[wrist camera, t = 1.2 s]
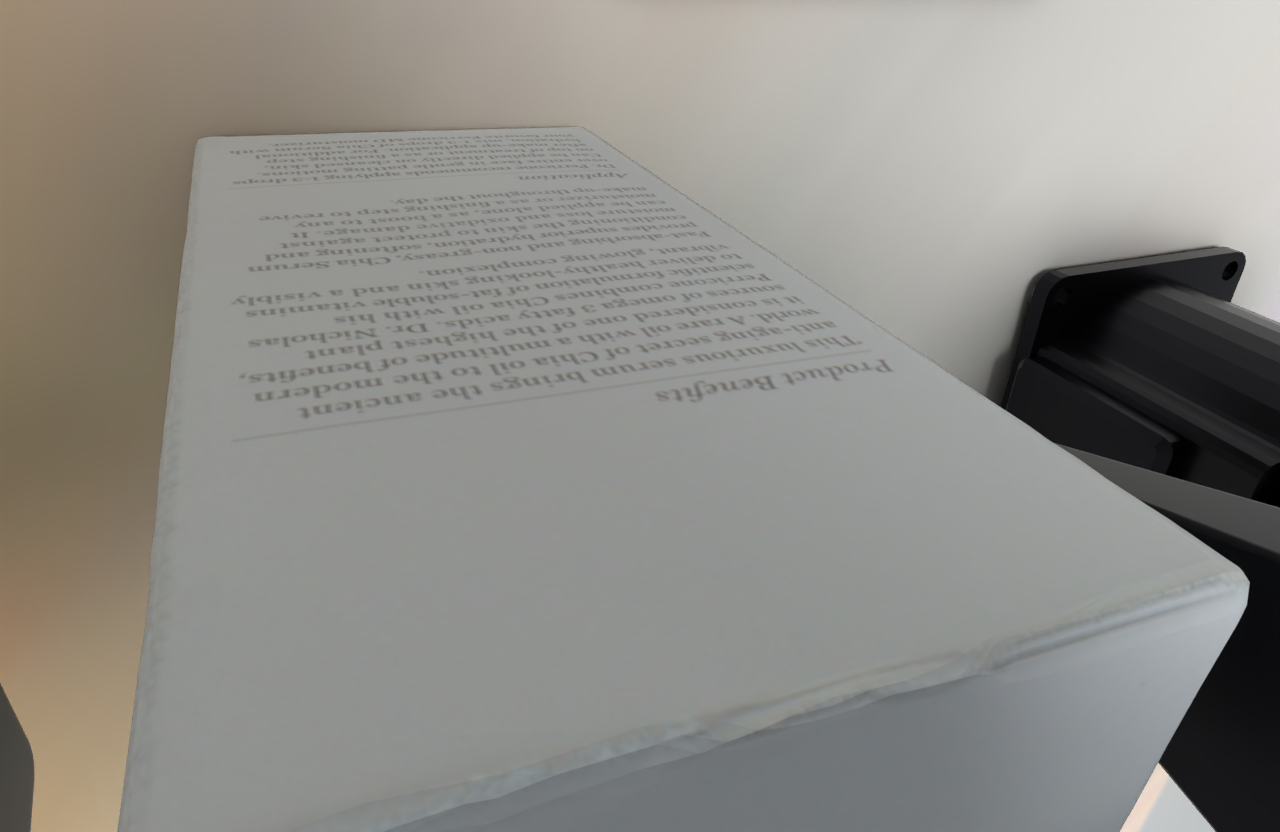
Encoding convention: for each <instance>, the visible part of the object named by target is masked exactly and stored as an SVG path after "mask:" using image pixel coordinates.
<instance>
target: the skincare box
mask: <svg viewBox="0 0 1280 832" xmlns="http://www.w3.org/2000/svg"><path fill="white" fill-rule="evenodd" d="M1249 584H1250V582H1249V580H1248V579H1247V577H1246V576H1245V574H1244V572H1243V571H1242V570H1241V569H1240V568H1239V567H1238V566H1236V565H1235V564H1234V563H1232V562H1231V561H1229V560H1228V559H1226V558H1225V557H1223V556H1222V555H1220V554H1219V553H1218V552H1216V551H1215V550H1213V549H1212V548H1210V547H1209V546H1207V545H1206V544H1204V543H1203V542H1202V541H1200V540H1199V539H1197V538H1196V537H1194V536H1193V535H1191V534H1190V533H1188V532H1187V531H1186V530H1184V529H1183V528H1181V527H1180V526H1178V525H1177V524H1175V523H1174V522H1173V521H1171V520H1170V519H1168V518H1166V517H1165V516H1163V515H1162V514H1160V513H1159V512H1157V511H1156V510H1154V509H1153V508H1151V507H1149V506H1148V505H1146V504H1145V503H1143V502H1142V501H1140V500H1139V499H1137V498H1136V497H1134V496H1132V495H1131V494H1129V493H1128V492H1126V491H1125V490H1123V489H1122V488H1120V487H1119V486H1117V485H1115V484H1114V483H1112V482H1111V481H1109V480H1108V479H1106V478H1105V477H1104V476H1102V475H1101V474H1099V473H1098V472H1097V471H1095V470H1094V469H1092V468H1091V467H1089V466H1088V465H1087V464H1085V463H1084V462H1082V461H1081V460H1080V459H1078V458H1077V457H1075V456H1073V455H1072V454H1070V453H1069V452H1067V451H1066V450H1064V449H1062V448H1061V447H1059V446H1058V445H1056V444H1054V443H1053V442H1051V441H1050V440H1048V439H1047V438H1045V437H1044V436H1043V435H1041V434H1040V433H1038V432H1037V431H1036V430H1034V429H1033V428H1031V427H1030V426H1029V425H1027V424H1026V423H1024V422H1023V421H1021V420H1020V419H1018V418H1016V417H1015V416H1013V415H1012V414H1010V413H1009V412H1007V411H1006V410H1004V409H1003V408H1001V407H999V406H998V405H996V404H995V403H993V402H992V401H990V400H989V399H987V398H986V397H984V396H983V395H981V394H980V393H978V392H977V391H975V390H974V389H972V388H971V387H970V386H968V385H967V384H965V383H964V382H962V381H961V380H959V379H958V378H956V377H955V376H953V375H952V374H951V373H949V372H948V371H946V370H945V369H943V368H942V367H940V366H939V365H937V364H936V363H934V362H933V361H931V360H930V359H928V358H927V357H925V356H924V355H922V354H921V353H919V352H918V351H916V350H915V349H913V348H912V347H910V346H909V345H907V344H906V343H904V342H903V341H901V340H900V339H898V338H897V337H895V336H894V335H892V334H891V333H889V332H888V331H886V330H885V329H883V328H881V327H880V326H878V325H877V324H875V323H874V322H872V321H871V320H869V319H867V318H866V317H864V316H863V315H861V314H860V313H859V312H857V311H856V310H854V309H853V308H851V307H850V306H848V305H847V304H846V303H844V302H843V301H841V300H840V299H838V298H837V297H835V296H834V295H833V294H831V293H830V292H828V291H827V290H825V289H824V288H822V287H821V286H819V285H818V284H816V283H815V282H813V281H812V280H810V279H809V278H807V277H806V276H804V275H803V274H801V273H800V272H798V271H797V270H795V269H794V268H792V267H791V266H789V265H788V264H786V263H785V262H783V261H782V260H781V259H779V258H778V257H777V256H775V255H774V254H772V253H771V252H769V251H768V250H766V249H765V248H763V247H761V246H760V245H758V244H757V243H755V242H754V241H752V240H751V239H749V238H748V237H746V236H745V235H743V234H742V233H740V232H739V231H737V230H736V229H734V228H733V227H731V226H730V225H728V224H727V223H725V222H724V221H722V220H721V219H719V218H718V217H717V216H715V215H714V214H712V213H711V212H709V211H708V210H706V209H705V208H703V207H702V206H700V205H699V204H697V203H695V202H694V201H692V200H691V199H689V198H688V197H686V196H685V195H683V194H682V193H680V192H679V191H677V190H676V189H674V188H673V187H671V186H670V185H668V184H667V183H666V182H664V181H663V180H661V179H660V178H658V177H657V176H655V175H654V174H652V173H651V172H649V171H648V170H647V169H645V168H644V167H642V166H640V165H639V164H637V163H636V162H634V161H633V160H631V159H630V158H628V157H627V156H626V155H624V154H623V153H621V152H620V151H618V150H617V149H615V148H614V147H612V146H611V145H609V144H608V143H607V142H605V141H604V140H602V139H601V138H599V137H598V136H596V135H595V134H593V133H591V132H590V131H588V130H586V129H584V128H583V127H552V128H511V129H469V130H440V131H400V132H361V133H328V134H298V135H261V136H233V137H222V136H211V137H203V138H200V139H198V141H197V144H196V147H195V154H194V161H193V169H192V184H191V192H190V198H189V208H188V222H187V234H186V239H185V243H184V250H183V258H182V266H181V275H180V283H179V292H178V302H177V309H176V321H175V333H174V342H173V350H172V358H171V368H170V380H169V388H168V395H167V406H166V414H165V422H164V431H163V443H162V450H161V457H160V466H159V481H158V496H157V507H156V518H155V528H154V536H153V542H152V548H151V582H150V591H149V600H148V609H147V617H146V625H145V632H144V640H143V647H142V653H141V659H140V665H139V672H138V679H137V687H136V695H135V702H134V710H133V718H132V725H131V733H130V741H129V749H128V756H127V764H126V772H125V779H124V787H123V795H122V803H121V810H120V817H119V824H118V831H117V832H1120V830H1121V828H1122V826H1123V824H1124V823H1125V821H1126V819H1127V817H1128V816H1129V814H1130V812H1131V811H1132V809H1133V807H1134V805H1135V803H1136V802H1137V800H1138V798H1139V796H1140V794H1141V793H1142V791H1143V789H1144V787H1145V785H1146V783H1147V782H1148V780H1149V778H1150V776H1151V774H1152V773H1153V771H1154V769H1155V767H1156V765H1157V763H1158V762H1159V760H1160V758H1161V756H1162V754H1163V752H1164V751H1165V749H1166V747H1167V745H1168V744H1169V742H1170V740H1171V738H1172V736H1173V735H1174V733H1175V731H1176V729H1177V728H1178V726H1179V724H1180V722H1181V721H1182V719H1183V717H1184V715H1185V713H1186V712H1187V710H1188V708H1189V706H1190V705H1191V703H1192V701H1193V699H1194V698H1195V696H1196V694H1197V692H1198V690H1199V689H1200V687H1201V685H1202V684H1203V682H1204V680H1205V679H1206V677H1207V675H1208V673H1209V672H1210V670H1211V668H1212V667H1213V665H1214V663H1215V661H1216V660H1217V658H1218V656H1219V655H1220V653H1221V651H1222V650H1223V648H1224V646H1225V644H1226V643H1227V641H1228V639H1229V638H1230V636H1231V634H1232V633H1233V631H1234V629H1235V627H1236V626H1237V624H1238V622H1239V620H1240V618H1241V616H1242V614H1243V612H1244V610H1245V608H1246V606H1247V600H1248V592H1249Z"/></svg>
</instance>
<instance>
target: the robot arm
mask: <svg viewBox="0 0 1280 832" xmlns="http://www.w3.org/2000/svg"><path fill="white" fill-rule="evenodd" d="M1245 263H1246V259H1245V255H1244V254H1243V253H1242V252H1239V251H1237V250H1234V249H1231V248H1228V247H1217V248H1210V249H1203V250H1195V251H1188V252H1181V253H1174V254H1167V255H1159V256H1152V257H1145V258H1138V259H1131V260H1123V261H1116V262H1109V263H1102V264H1095V265H1087V266H1080V267H1073V268H1066V269H1059V270H1054V271H1051V272H1049V273H1047V274H1046V275H1045V276H1044V277H1042V278H1041V280H1040V281H1039V282H1038V284H1037V285H1036V287H1035V290H1034V292H1033V295H1032V299H1031V302H1030V306H1029V309H1028V313H1027V317H1026V320H1025V324H1024V327H1023V331H1022V335H1021V338H1020V342H1019V345H1018V349H1017V352H1016V356H1015V360H1014V363H1013V367H1012V370H1011V374H1010V377H1009V381H1008V385H1007V388H1006V392H1005V395H1004V399H1003V402H1002V406H1001V408H1003V409H1004V410H1006V411H1007V412H1009V413H1010V414H1012V415H1013V416H1015V417H1016V418H1018V419H1020V420H1021V421H1023V422H1024V423H1026V424H1027V425H1029V426H1030V427H1031V428H1033V429H1034V430H1036V431H1037V432H1038V433H1040V434H1041V435H1043V436H1044V437H1045V438H1047V439H1048V440H1050V441H1051V442H1053V443H1054V444H1056V445H1058V446H1059V447H1061V448H1062V449H1064V450H1066V451H1067V452H1069V453H1070V454H1072V455H1073V456H1075V457H1077V458H1078V459H1080V460H1081V461H1082V462H1084V463H1085V464H1087V465H1088V466H1089V467H1091V468H1092V469H1094V470H1095V471H1097V472H1098V473H1099V474H1101V475H1102V476H1104V477H1105V478H1106V479H1108V480H1109V481H1111V482H1112V483H1114V484H1115V485H1117V486H1119V487H1120V488H1122V489H1123V490H1125V491H1126V492H1128V493H1129V494H1131V495H1132V496H1134V497H1136V498H1137V499H1139V500H1140V501H1142V502H1143V503H1145V504H1146V505H1148V506H1149V507H1151V508H1153V509H1154V510H1156V511H1157V512H1159V513H1160V514H1162V515H1163V516H1165V517H1166V518H1168V519H1170V520H1171V521H1173V522H1174V523H1175V524H1177V525H1178V526H1180V527H1181V528H1183V529H1184V530H1186V531H1187V532H1188V533H1190V534H1191V535H1193V536H1194V537H1196V538H1197V539H1199V540H1200V541H1202V542H1203V543H1204V544H1206V545H1207V546H1209V547H1210V548H1212V549H1213V550H1215V551H1216V552H1218V553H1219V554H1220V555H1222V556H1223V557H1225V558H1226V559H1228V560H1229V561H1231V562H1232V563H1234V564H1235V565H1236V566H1238V567H1239V568H1240V569H1241V570H1242V571H1243V572H1244V574H1245V576H1246V577H1247V579H1248V580H1249V582H1250V584H1249V592H1248V600H1247V606H1246V608H1245V610H1244V612H1243V614H1242V616H1241V618H1240V620H1239V622H1238V624H1237V626H1236V627H1235V629H1234V631H1233V633H1232V634H1231V636H1230V638H1229V639H1228V641H1227V643H1226V644H1225V646H1224V648H1223V650H1222V651H1221V653H1220V655H1219V656H1218V658H1217V660H1216V661H1215V663H1214V665H1213V667H1212V668H1211V670H1210V672H1209V673H1208V675H1207V677H1206V679H1205V680H1204V682H1203V684H1202V685H1201V687H1200V689H1199V690H1198V692H1197V694H1196V696H1195V698H1194V699H1193V701H1192V703H1191V705H1190V706H1189V708H1188V710H1187V712H1186V713H1185V715H1184V717H1183V719H1182V721H1181V722H1180V724H1179V726H1178V728H1177V729H1176V731H1175V733H1174V735H1173V736H1172V738H1171V740H1170V742H1169V744H1168V745H1167V747H1166V749H1165V751H1164V752H1163V754H1162V756H1161V758H1160V760H1159V762H1158V763H1159V764H1160V765H1161V766H1162V767H1163V769H1164V770H1165V771H1166V772H1167V774H1168V775H1169V776H1170V777H1171V778H1172V780H1173V781H1174V782H1175V783H1176V784H1177V785H1178V787H1179V788H1180V789H1181V790H1182V792H1183V793H1184V794H1185V795H1186V796H1187V798H1188V799H1189V800H1190V801H1191V802H1192V804H1193V805H1194V806H1195V807H1196V809H1197V810H1198V811H1199V812H1200V813H1201V815H1202V816H1203V817H1204V818H1205V819H1206V821H1207V822H1208V823H1209V824H1210V825H1211V827H1212V828H1213V829H1214V830H1215V832H1280V323H1278V322H1276V321H1274V320H1271V319H1269V318H1266V317H1264V316H1261V315H1259V314H1256V313H1254V312H1252V311H1249V310H1247V309H1244V308H1242V307H1239V306H1237V305H1234V304H1232V303H1230V302H1231V299H1232V297H1233V294H1234V292H1235V289H1236V287H1237V284H1238V282H1239V280H1240V277H1241V275H1242V272H1243V270H1244V266H1245ZM33 789H34V760H33V753H32V750H31V746H30V743H29V741H28V739H27V737H26V735H25V733H24V731H23V729H22V727H21V725H20V723H19V720H18V718H17V716H16V714H15V712H14V710H13V708H12V706H11V704H10V702H9V700H8V698H7V696H6V694H5V692H4V690H3V688H2V686H1V684H0V832H30V831H31V817H32V803H33Z"/></svg>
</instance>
